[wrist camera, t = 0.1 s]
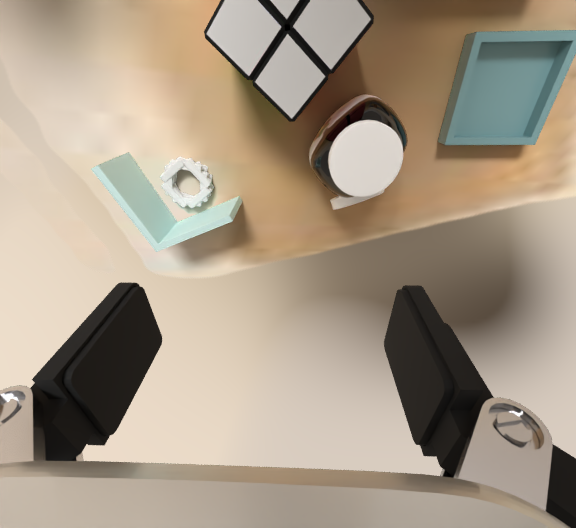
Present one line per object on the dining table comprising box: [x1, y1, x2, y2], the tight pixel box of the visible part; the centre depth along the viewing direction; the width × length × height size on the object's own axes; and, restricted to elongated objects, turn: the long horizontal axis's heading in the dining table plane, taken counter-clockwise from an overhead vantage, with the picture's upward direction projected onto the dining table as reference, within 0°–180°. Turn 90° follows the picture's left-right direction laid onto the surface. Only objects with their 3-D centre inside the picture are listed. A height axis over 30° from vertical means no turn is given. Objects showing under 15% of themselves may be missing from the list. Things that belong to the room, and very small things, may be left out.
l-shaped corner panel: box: [91, 152, 242, 252], centre depth 37 cm, size 12×12×8 cm
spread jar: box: [309, 94, 407, 210], centre depth 32 cm, size 12×11×12 cm
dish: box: [438, 30, 576, 145], centre depth 32 cm, size 11×11×2 cm
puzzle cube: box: [204, 0, 374, 121], centre depth 26 cm, size 10×10×10 cm
